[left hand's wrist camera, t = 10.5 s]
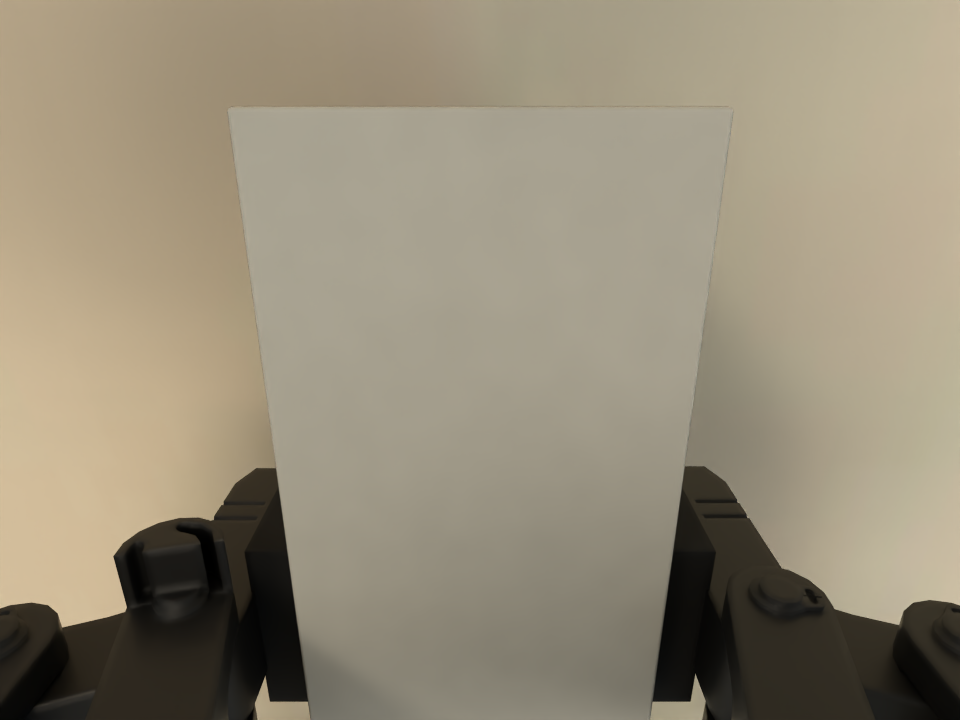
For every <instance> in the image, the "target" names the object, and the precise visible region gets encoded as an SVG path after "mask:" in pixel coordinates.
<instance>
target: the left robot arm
mask: <svg viewBox="0 0 960 720" xmlns="http://www.w3.org/2000/svg"><path fill="white" fill-rule="evenodd" d="M113 557H114V560H115V564H116V568H117V571H118V575H119V579H120V583H121V586H122V590H123V594H124V598H125V601H126V605H127V609H126V612H124V613H121V614H117V615H114V616H111V617H107V618H103V619H98V620H94V621H89V622H85V623H81V624H76V625H72V626H68V627H63V628H62V626H61V623H60V620H59V617H58V614H57V613H56V612H55V611H54V610H53V609H52V608H50V607H49V606H48V605H42V604H36V603H25V604H17V605H10V606H7V607H4V608H1V609H0V720H257V713H256V708H255V702H256V699H257V696H258V694H259V691H260V688H261V686H262V683H263V680H264V678H265V675H266V681H267V687H268V693H269V699H270V702H308V697H307V690H306V683H305V675H304V668H303V661H302V653H301V646H300V639H299V631H298V624H297V617H296V610H295V602H294V595H293V588H292V580H291V573H290V566H289V558H288V551H287V544H286V537H285V529H284V522H283V515H282V507H281V500H280V493H279V485H278V478H277V471H276V468H256V469H255V470H253V471H252V472H251V473H249V474H248V475H247V476H245V477H244V478H243V479H241V480H240V481H238V482H237V483H236V484H235V485H234V487H233V488H232V490H231V491H230V493H229V494H228V496H227V497H226V499H225V501H224V505H221V507H220V508H219V510H218V511H217V513H216V515H215V516H214V520H212V521H209V520H205V519H202V518H178V519H174V520H170V521H165V522H161V523H158V524H156V525H153V526H151V527H149V528H146V529H144V530H142V531H140V532H138V533H137V534H135V535H134V536H133V537H131V538H130V539H128V540H127V541H126V542H124V543H123V544H122V546H121V547H120V548H119V550H118V551H117V552H116V554H115V555H114V556H113ZM695 673H696V676H697V679H698V681H699V684H700V687H701V689H702V692H703V695H704V697H705V700H706V703H705V708H704V713H703V719H702V720H960V606H959V605H956V604H953V603H948V602H940V601H933V600H928V601H922V602H916V603H913V604H911V605H910V606H909V607H908V608H907V609H906V610H904V612H903V615H902V618H901V621H900V624H899V625H895V624H891V623H887V622H882V621H878V620H873V619H869V618H865V617H860V616H856V615H852V614H849V613H845V612H842V611H838V610H835V609H834V608H833V606H832V604H831V603H830V601H829V599H828V598H827V596H826V595H825V593H824V592H823V591H822V590H820V589H819V588H818V587H817V586H815V585H814V584H813V583H812V582H811V581H809V580H808V579H806V578H804V577H802V576H800V575H798V574H796V573H794V572H792V571H789V570H785V569H782V568H781V567H780V565H779V563H778V562H777V560H776V559H775V557H774V556H773V554H772V553H771V551H770V550H769V548H768V547H767V545H766V543H765V542H764V540H763V539H762V537H761V536H760V534H759V533H758V531H757V530H756V528H755V527H754V525H753V523H752V522H751V520H750V519H749V518H747V514H746V513H745V511H744V510H743V508H742V507H741V505H740V504H739V503H737V499H736V497H735V496H734V494H733V493H732V491H731V490H730V488H729V487H728V485H727V484H726V482H725V481H724V480H722V479H721V478H719V477H718V476H717V475H715V474H714V473H713V472H711V471H710V470H708V469H707V468H706V467H704V466H685V468H684V475H683V482H682V489H681V497H680V504H679V511H678V519H677V526H676V533H675V541H674V548H673V555H672V562H671V570H670V577H669V584H668V592H667V599H666V606H665V613H664V621H663V628H662V635H661V643H660V650H659V657H658V664H657V672H656V679H655V686H654V694H653V701H652V702H690V701H691V695H692V689H693V684H694V678H695Z"/></svg>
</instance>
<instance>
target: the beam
mask: <svg viewBox="0 0 960 720" xmlns="http://www.w3.org/2000/svg"><path fill="white" fill-rule="evenodd" d="M227 113H228V121H229V128H230V135H231V142H232V150H233V157H234V164H235V172H236V179H237V186H238V194H239V201H240V208H241V215H242V223H243V230H244V237H245V245H246V252H247V259H248V267H249V274H250V281H251V288H252V296H253V303H254V310H255V318H256V325H257V332H258V340H259V347H260V354H261V361H262V369H263V376H264V383H265V391H266V398H267V405H268V413H269V420H270V427H271V434H272V442H273V449H274V456H275V464H276V471H277V478H278V485H279V493H280V500H281V507H282V515H283V522H284V529H285V537H286V544H287V551H288V558H289V566H290V573H291V580H292V588H293V595H294V602H295V610H296V617H297V624H298V631H299V639H300V646H301V653H302V661H303V668H304V675H305V683H306V690H307V697H308V704H309V712H310V719H311V720H650V716H651V708H652V701H653V694H654V686H655V679H656V672H657V664H658V657H659V650H660V643H661V635H662V628H663V621H664V613H665V606H666V599H667V592H668V584H669V577H670V570H671V562H672V555H673V548H674V541H675V533H676V526H677V519H678V511H679V504H680V497H681V489H682V482H683V475H684V468H685V460H686V453H687V446H688V438H689V431H690V424H691V417H692V409H693V402H694V395H695V387H696V380H697V373H698V366H699V358H700V351H701V344H702V336H703V329H704V322H705V314H706V307H707V300H708V293H709V285H710V278H711V271H712V263H713V256H714V249H715V242H716V234H717V227H718V220H719V212H720V205H721V198H722V191H723V183H724V176H725V169H726V161H727V154H728V147H729V140H730V132H731V125H732V118H733V109H732V108H731V107H729V106H232V107H230V108H228V112H227Z"/></svg>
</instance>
